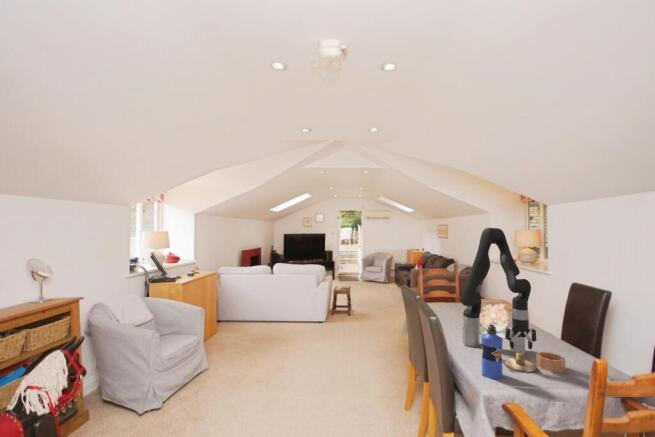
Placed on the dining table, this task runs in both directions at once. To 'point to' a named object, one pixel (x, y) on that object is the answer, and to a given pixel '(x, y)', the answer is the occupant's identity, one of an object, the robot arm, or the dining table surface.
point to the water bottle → (491, 354)
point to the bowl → (550, 362)
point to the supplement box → (518, 345)
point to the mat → (522, 372)
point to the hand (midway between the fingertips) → (521, 348)
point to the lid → (520, 364)
